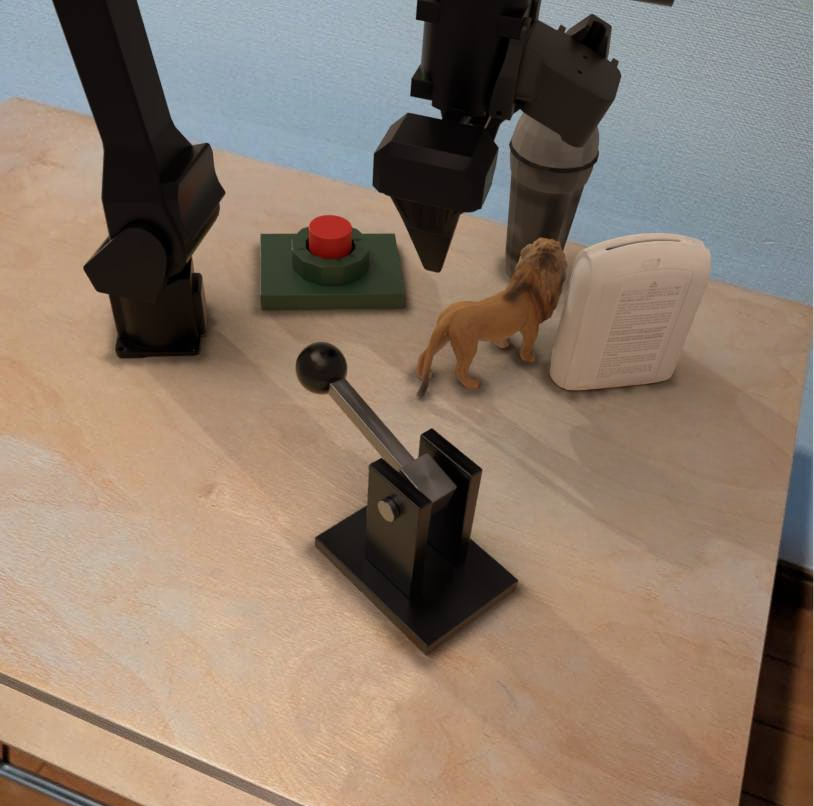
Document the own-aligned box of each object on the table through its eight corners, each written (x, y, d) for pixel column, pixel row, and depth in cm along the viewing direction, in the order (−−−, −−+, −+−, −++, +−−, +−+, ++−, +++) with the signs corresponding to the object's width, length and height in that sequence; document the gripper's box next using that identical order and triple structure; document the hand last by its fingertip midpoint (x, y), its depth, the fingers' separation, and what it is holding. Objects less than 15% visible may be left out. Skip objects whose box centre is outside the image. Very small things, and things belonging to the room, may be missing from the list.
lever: (282, 376, 57) (288, 343, 54) (322, 356, 58) (330, 323, 56) (412, 530, 54) (425, 504, 51) (450, 505, 56) (466, 479, 53)
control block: (261, 312, 76) (258, 276, 73) (261, 250, 82) (258, 214, 79) (403, 310, 77) (406, 275, 75) (394, 249, 83) (396, 214, 80)
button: (309, 260, 76) (309, 238, 74) (308, 236, 78) (307, 214, 76) (352, 260, 76) (353, 238, 74) (350, 236, 78) (350, 214, 77)
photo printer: (657, 350, 76) (704, 216, 66) (678, 384, 73) (730, 250, 64) (541, 362, 74) (572, 226, 65) (558, 398, 72) (593, 262, 62)
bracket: (314, 548, 61) (312, 443, 53) (404, 492, 64) (413, 387, 57) (425, 657, 56) (440, 560, 48) (515, 590, 59) (542, 490, 52)
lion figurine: (519, 312, 78) (537, 218, 71) (566, 343, 76) (590, 249, 69) (395, 386, 71) (401, 289, 64) (443, 422, 69) (455, 325, 62)
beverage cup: (569, 253, 84) (623, 22, 69) (570, 300, 80) (628, 64, 64) (491, 244, 84) (527, 11, 69) (488, 291, 80) (525, 53, 64)
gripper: (607, 74, 42) (543, 344, 54) (649, -59, 53) (588, 187, 66) (376, 29, 43) (364, 302, 55) (465, -92, 55) (439, 156, 67)
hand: (450, 232), depth 61 cm, fingers open, 9 cm apart
